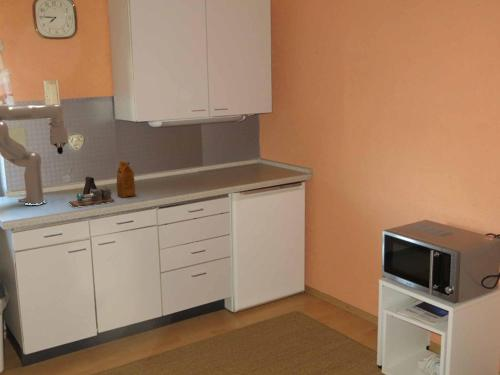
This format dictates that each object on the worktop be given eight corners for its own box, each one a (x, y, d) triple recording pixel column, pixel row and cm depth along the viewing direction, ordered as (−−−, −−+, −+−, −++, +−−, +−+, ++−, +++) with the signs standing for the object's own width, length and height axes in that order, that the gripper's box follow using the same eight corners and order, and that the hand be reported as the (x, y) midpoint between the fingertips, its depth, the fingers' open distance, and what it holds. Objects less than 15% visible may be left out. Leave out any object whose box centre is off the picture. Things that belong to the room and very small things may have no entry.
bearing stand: (74, 208, 346) (73, 195, 344) (68, 204, 356) (67, 191, 354) (114, 201, 358) (113, 189, 356) (107, 198, 368) (106, 186, 366)
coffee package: (130, 192, 382) (128, 158, 377) (137, 196, 371) (134, 161, 367) (115, 194, 377) (112, 160, 372) (121, 198, 367) (119, 163, 362)
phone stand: (86, 197, 371) (84, 178, 369) (82, 196, 376) (80, 177, 373) (99, 195, 377) (98, 176, 375) (95, 193, 382) (93, 175, 379)
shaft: (79, 201, 350) (78, 194, 349) (77, 200, 354) (76, 193, 353) (112, 197, 361) (111, 189, 360) (109, 195, 364) (109, 188, 363)
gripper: (46, 125, 361) (49, 155, 365) (71, 123, 369) (74, 153, 372) (43, 124, 367) (46, 154, 371) (67, 123, 375) (70, 151, 379)
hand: (60, 153), depth 372 cm, fingers closed
